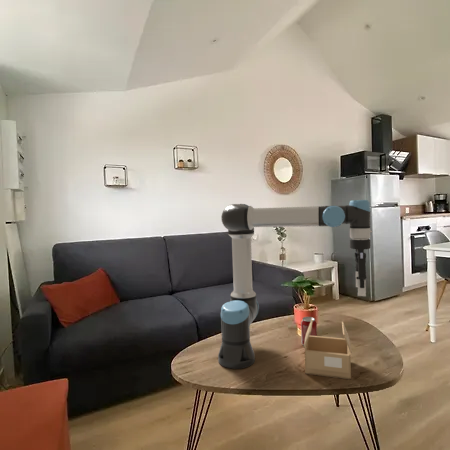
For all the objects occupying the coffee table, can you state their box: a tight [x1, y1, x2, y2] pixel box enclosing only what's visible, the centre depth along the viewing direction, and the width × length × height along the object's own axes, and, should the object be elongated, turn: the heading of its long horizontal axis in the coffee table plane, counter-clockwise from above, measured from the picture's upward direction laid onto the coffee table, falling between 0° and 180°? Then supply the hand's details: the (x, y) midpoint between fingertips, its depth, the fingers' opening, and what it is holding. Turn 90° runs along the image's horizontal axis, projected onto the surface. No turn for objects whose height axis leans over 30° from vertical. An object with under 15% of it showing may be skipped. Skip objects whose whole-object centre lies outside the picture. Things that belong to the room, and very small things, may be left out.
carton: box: [304, 335, 352, 380], centre depth 123 cm, size 16×15×9 cm
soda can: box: [300, 316, 318, 346], centre depth 144 cm, size 7×7×12 cm
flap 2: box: [341, 321, 353, 354], centre depth 120 cm, size 7×13×1 cm
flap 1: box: [303, 319, 313, 349], centre depth 125 cm, size 7×13×1 cm
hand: (360, 291), depth 128 cm, fingers open, 13 cm apart
